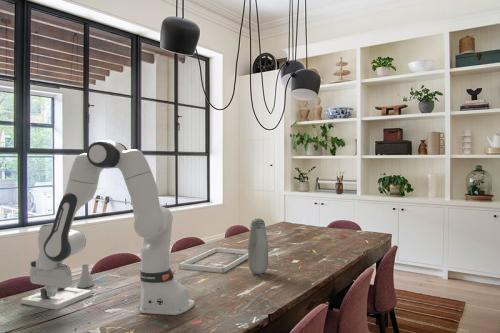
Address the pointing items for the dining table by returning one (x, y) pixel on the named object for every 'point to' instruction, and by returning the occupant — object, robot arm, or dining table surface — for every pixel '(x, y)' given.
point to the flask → (85, 277)
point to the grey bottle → (258, 247)
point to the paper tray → (214, 269)
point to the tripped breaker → (44, 293)
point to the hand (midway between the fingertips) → (51, 296)
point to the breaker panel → (58, 298)
